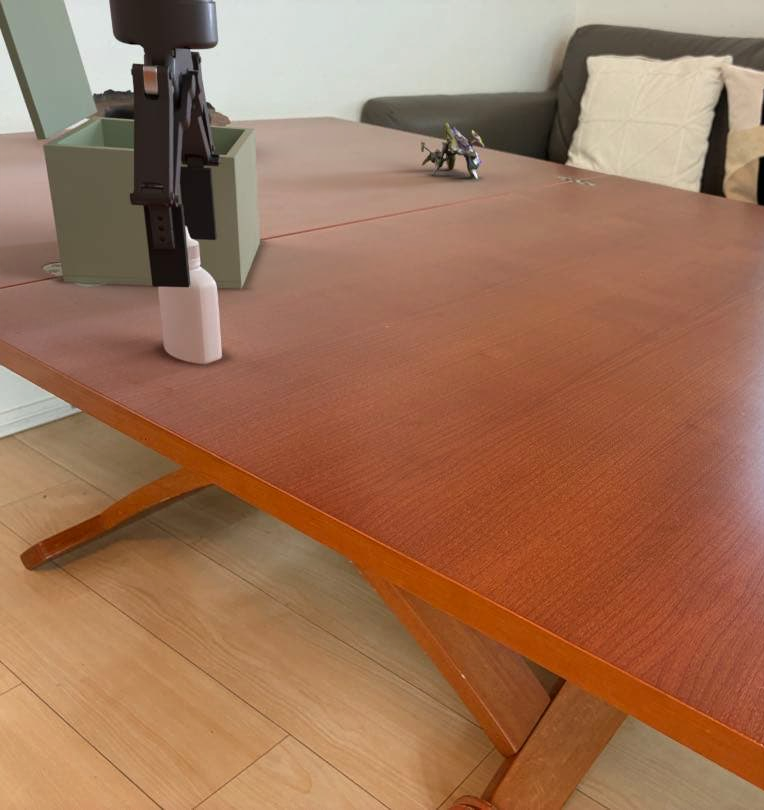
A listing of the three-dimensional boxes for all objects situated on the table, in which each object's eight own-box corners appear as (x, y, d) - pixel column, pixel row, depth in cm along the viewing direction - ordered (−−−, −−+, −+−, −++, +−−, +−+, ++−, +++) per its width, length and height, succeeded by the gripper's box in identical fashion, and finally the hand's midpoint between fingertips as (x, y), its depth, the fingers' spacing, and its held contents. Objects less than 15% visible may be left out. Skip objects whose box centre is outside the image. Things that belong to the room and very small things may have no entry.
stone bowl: (129, 132, 164) (128, 81, 160) (253, 158, 163) (255, 109, 159) (45, 150, 142) (41, 92, 138) (187, 181, 141) (188, 124, 137)
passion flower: (470, 208, 161) (494, 164, 152) (415, 196, 157) (437, 150, 147) (465, 164, 166) (488, 119, 157) (412, 151, 162) (432, 104, 153)
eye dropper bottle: (211, 341, 81) (202, 217, 76) (225, 364, 77) (216, 234, 71) (162, 346, 79) (149, 219, 73) (173, 370, 74) (160, 236, 69)
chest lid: (42, -73, 91) (33, -72, 90) (-27, -81, 75) (-37, -81, 75) (97, 112, 99) (90, 112, 99) (46, 139, 84) (37, 140, 84)
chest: (260, 244, 110) (254, 128, 103) (241, 291, 94) (234, 157, 87) (109, 237, 106) (94, 116, 100) (64, 284, 90) (42, 144, 84)
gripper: (183, -2, 54) (209, 311, 63) (236, -10, 76) (250, 224, 85) (54, -14, 53) (101, 309, 62) (146, -18, 75) (170, 221, 84)
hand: (187, 260), depth 74 cm, fingers open, 13 cm apart
